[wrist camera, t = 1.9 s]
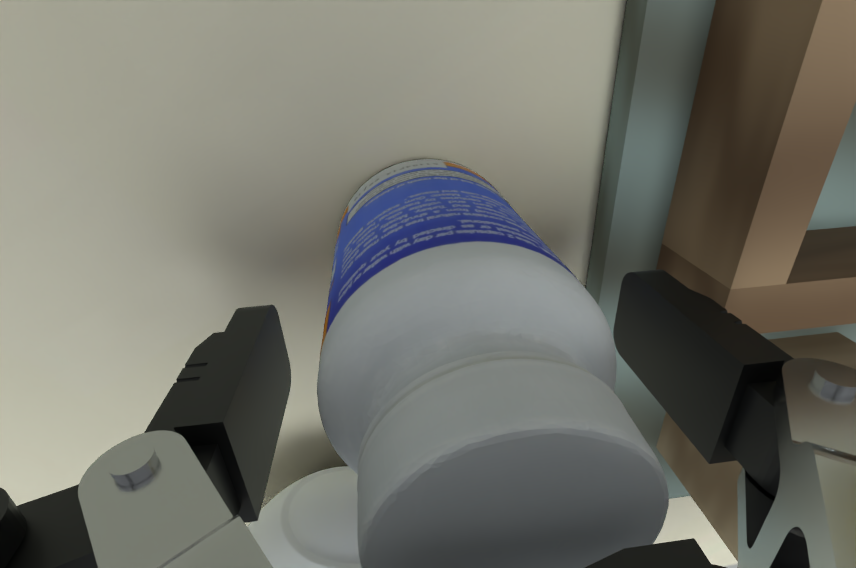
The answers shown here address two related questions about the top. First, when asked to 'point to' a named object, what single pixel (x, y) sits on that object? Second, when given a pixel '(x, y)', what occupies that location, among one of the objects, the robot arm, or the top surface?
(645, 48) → the socket board
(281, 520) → the white rounded piece
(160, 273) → the top surface
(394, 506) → the pill bottle
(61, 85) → the top surface
